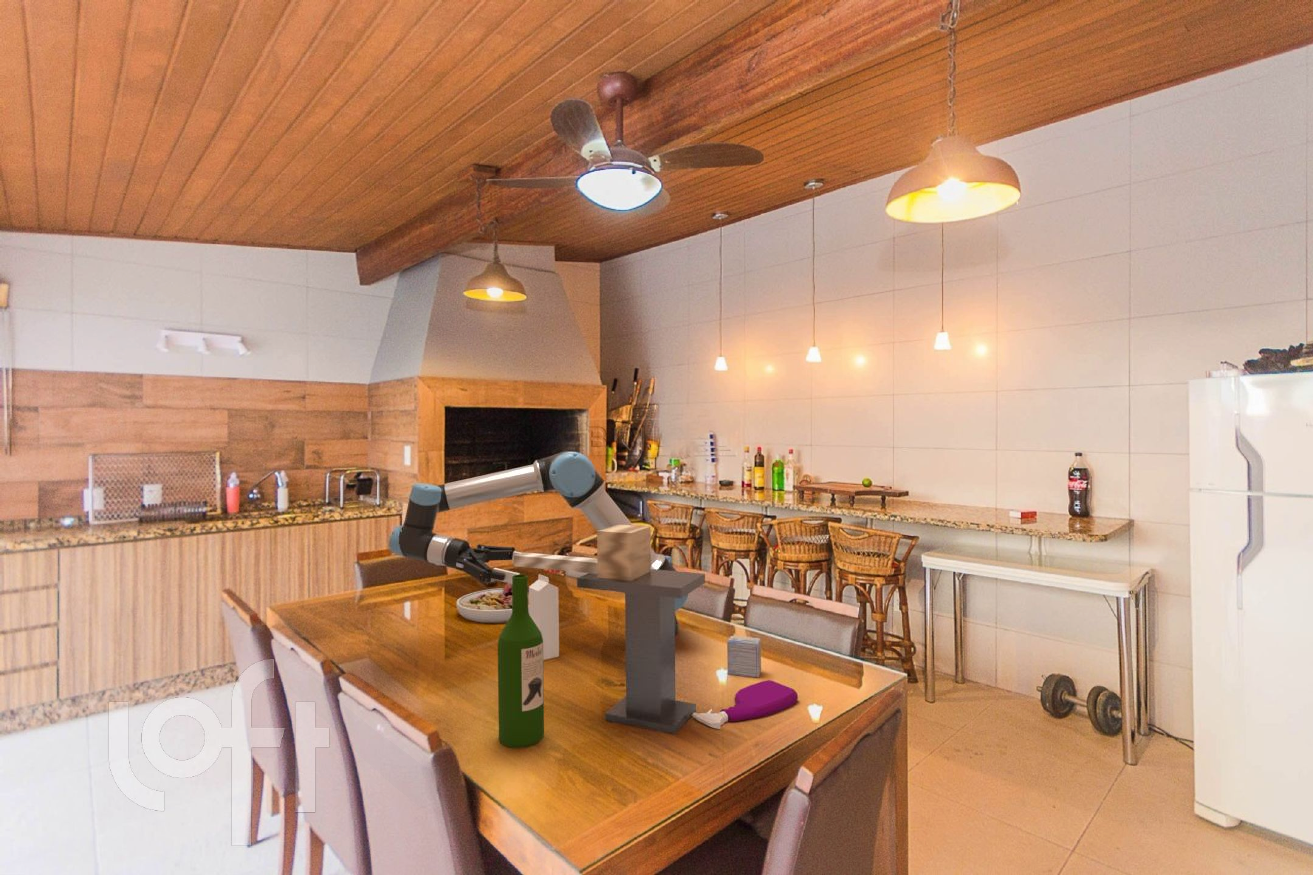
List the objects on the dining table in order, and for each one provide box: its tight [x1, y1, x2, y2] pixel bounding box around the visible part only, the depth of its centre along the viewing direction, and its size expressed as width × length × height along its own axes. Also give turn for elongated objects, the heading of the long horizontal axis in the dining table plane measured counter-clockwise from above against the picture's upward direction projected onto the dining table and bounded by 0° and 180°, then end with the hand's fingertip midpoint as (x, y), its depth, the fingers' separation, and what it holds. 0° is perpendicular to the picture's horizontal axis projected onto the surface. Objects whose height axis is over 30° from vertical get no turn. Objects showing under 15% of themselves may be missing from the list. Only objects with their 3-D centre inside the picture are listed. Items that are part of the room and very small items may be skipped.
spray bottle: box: [691, 679, 799, 730], centre depth 143 cm, size 3×11×24 cm
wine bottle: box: [497, 573, 545, 749], centre depth 130 cm, size 9×9×32 cm
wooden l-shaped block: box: [513, 524, 652, 581], centre depth 147 cm, size 32×10×10 cm, turn 66°
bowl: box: [456, 582, 530, 624], centre depth 221 cm, size 30×30×8 cm
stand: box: [576, 569, 706, 735], centre depth 141 cm, size 24×14×30 cm, turn 66°
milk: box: [528, 573, 560, 661], centre depth 177 cm, size 6×6×22 cm
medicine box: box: [726, 635, 762, 678], centre depth 164 cm, size 8×4×9 cm, turn 71°
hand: (527, 570), depth 166 cm, fingers open, 13 cm apart
